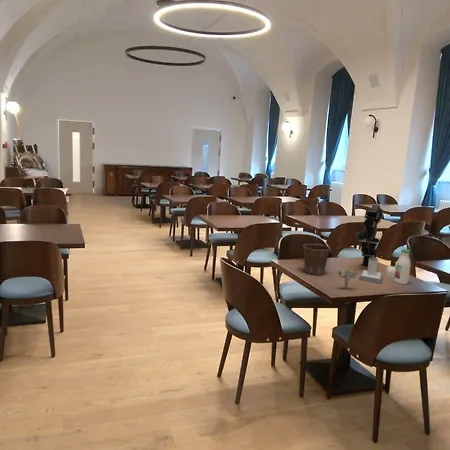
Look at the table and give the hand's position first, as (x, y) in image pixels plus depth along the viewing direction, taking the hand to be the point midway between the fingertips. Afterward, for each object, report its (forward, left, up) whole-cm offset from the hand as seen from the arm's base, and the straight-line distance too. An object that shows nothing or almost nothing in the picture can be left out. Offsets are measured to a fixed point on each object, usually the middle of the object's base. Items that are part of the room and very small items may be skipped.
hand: (366, 253), depth 276 cm
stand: (+8, +11, -12) cm, 18 cm away
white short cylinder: (-8, +14, -12) cm, 20 cm away
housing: (+8, +11, -10) cm, 17 cm away
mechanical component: (+39, +17, -12) cm, 45 cm away
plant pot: (+32, -13, -12) cm, 37 cm away
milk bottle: (-3, +24, -12) cm, 27 cm away
